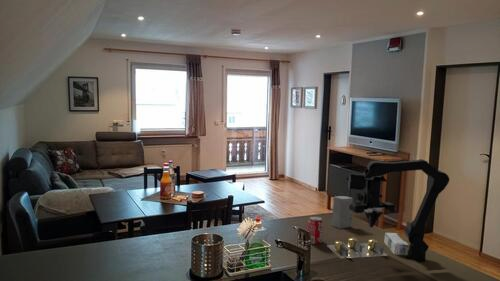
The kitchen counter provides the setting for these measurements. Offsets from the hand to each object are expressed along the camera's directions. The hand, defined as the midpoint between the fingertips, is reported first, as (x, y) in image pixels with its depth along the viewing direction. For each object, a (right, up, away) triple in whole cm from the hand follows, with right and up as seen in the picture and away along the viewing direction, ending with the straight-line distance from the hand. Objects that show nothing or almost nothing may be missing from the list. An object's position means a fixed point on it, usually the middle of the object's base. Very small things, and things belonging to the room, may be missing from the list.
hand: (371, 227), depth 155 cm
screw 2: (+3, -11, +4) cm, 13 cm away
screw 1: (-12, -11, +1) cm, 17 cm away
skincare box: (-3, -9, +39) cm, 41 cm away
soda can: (-22, -11, +14) cm, 28 cm away
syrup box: (+14, -9, +16) cm, 23 cm away
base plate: (-5, -12, +5) cm, 14 cm away
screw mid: (-5, -11, +6) cm, 13 cm away
